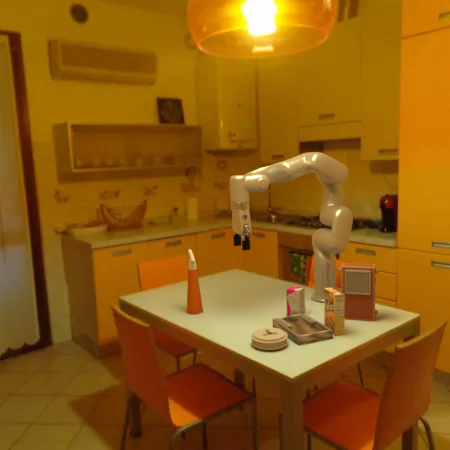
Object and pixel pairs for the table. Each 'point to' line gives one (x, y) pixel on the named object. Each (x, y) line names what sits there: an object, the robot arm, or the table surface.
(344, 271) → the red speaker
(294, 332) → the shallow rectangular tray
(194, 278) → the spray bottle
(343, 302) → the candy box
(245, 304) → the table surface
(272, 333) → the lid
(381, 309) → the table surface
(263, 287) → the table surface
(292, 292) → the supplement box
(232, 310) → the table surface
